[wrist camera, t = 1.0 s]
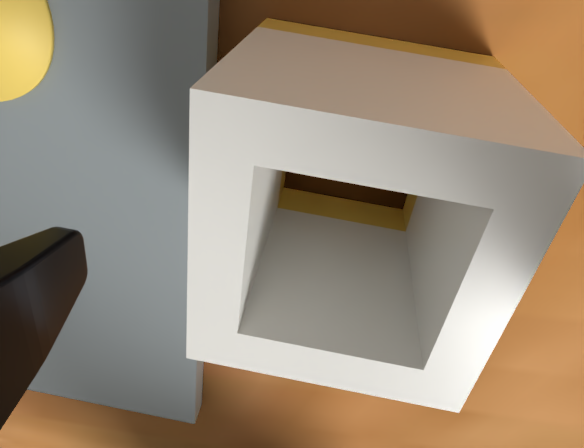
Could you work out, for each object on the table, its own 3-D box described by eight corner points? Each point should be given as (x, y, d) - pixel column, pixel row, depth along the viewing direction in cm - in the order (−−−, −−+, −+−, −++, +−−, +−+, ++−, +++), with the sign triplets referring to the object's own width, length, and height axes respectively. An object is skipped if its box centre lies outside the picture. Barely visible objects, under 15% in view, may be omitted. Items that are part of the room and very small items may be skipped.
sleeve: (426, 243, 14) (459, 413, 9) (248, 209, 15) (186, 358, 10) (493, 56, 11) (596, 159, 6) (266, 17, 12) (189, 88, 6)
